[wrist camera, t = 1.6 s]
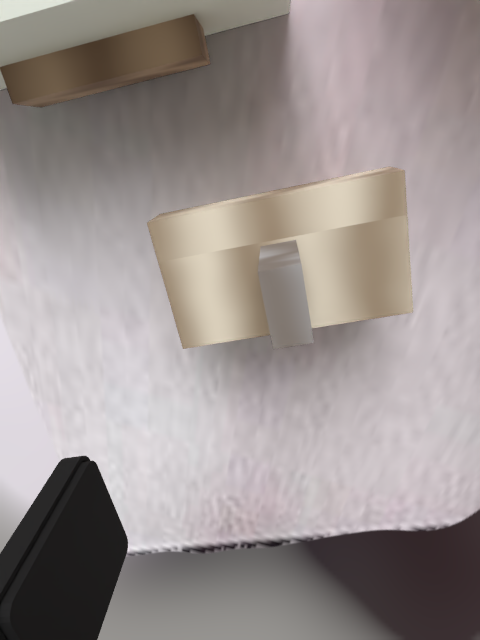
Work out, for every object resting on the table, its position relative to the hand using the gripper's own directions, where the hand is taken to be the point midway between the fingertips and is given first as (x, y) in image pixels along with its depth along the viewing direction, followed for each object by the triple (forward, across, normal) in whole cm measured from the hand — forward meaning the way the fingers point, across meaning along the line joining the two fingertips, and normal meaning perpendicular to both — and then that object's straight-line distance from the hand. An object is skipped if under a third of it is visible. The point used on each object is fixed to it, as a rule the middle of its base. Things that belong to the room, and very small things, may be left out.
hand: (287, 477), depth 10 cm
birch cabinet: (+26, -1, 0) cm, 26 cm away
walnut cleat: (+24, +8, -13) cm, 29 cm away
